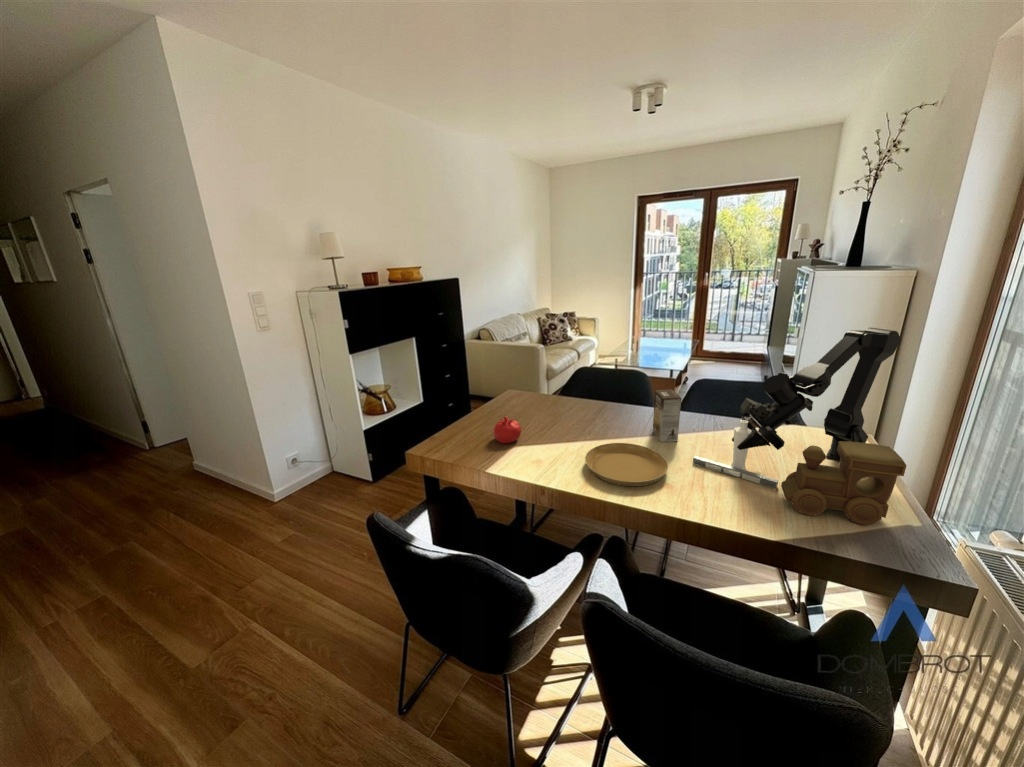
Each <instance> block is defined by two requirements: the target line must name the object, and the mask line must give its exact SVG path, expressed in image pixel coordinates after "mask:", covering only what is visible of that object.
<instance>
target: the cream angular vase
mask: <svg viewBox="0 0 1024 767" xmlns="http://www.w3.org/2000/svg"><path fill="white" fill-rule="evenodd" d="M747 426H748V421H746V420H742V419H741V420H739V426H738V427H734V429H733V430H734V431H733V437H734V442H733V448H732V449H733V450H732V451H733V454H732V463H731V465H730V466H732V467H736V468H739V469H742V470H746V468H747V467H746V462H747V461H746V460H747V456H748V452H749V448H747V449H742V450H739V449H738V448H737V446H738V445H739V444H740V443H741V442H743V441H744V440H745V439H746V438H747V437H748V436H749V435H751V432H752V430H750V429H748V428H747Z"/></svg>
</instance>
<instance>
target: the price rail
mask: <svg viewBox="0 0 1024 767" xmlns="http://www.w3.org/2000/svg"><path fill="white" fill-rule="evenodd" d="M693 464H694V465H696V466H700V467H703V468H706V469H708V470H713V471H716V472H719V473H722V474H727V475H729V476H733V477H736V478H739V479H742V480H746V481H749V482H750V483H751V482H752V483H754V484H758V485H761V486H762V485H763V486H765V487H768V488H771V489H774V490H776V489H777V487H778V483H779V479H778V478H777V479H776V478H773V477H769V476H766V475H762V474H759V473H756V472H752V471H749V470H746V469H745V470H742V469H739V468H736V467H732V466H731V465H728V464H725V463H721V462H717V461H715V460H712V459H708V458H705V457H701V456H698V455H694V457H693V458H692V465H693Z"/></svg>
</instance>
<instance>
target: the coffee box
mask: <svg viewBox="0 0 1024 767" xmlns="http://www.w3.org/2000/svg"><path fill="white" fill-rule="evenodd" d="M681 405H682V397H681V396H680V395H679V394H678V393H677V392H676V391H675V390H674V389H673V388H671V389H670V388H669V389H657V390H656V389H655V390H654V401H653V419H652V432H653V433H654V435H655V437H656V438H657V439H658V441H659V440H660V441H667V442H678V441H679V431H680V430H679V429H680V417H681ZM660 441H659V442H660Z"/></svg>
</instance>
